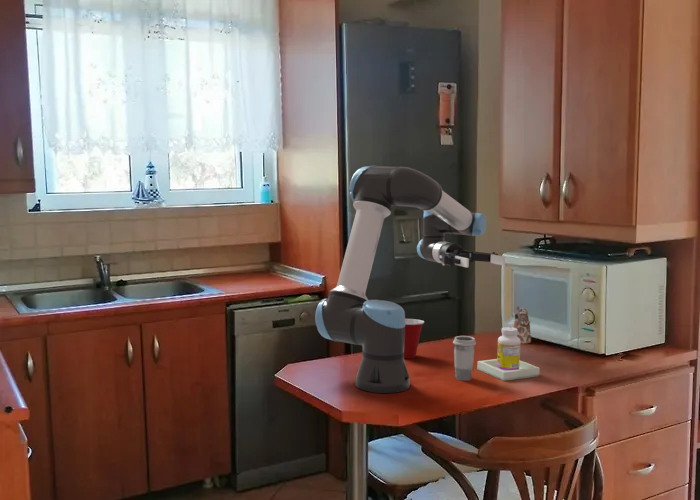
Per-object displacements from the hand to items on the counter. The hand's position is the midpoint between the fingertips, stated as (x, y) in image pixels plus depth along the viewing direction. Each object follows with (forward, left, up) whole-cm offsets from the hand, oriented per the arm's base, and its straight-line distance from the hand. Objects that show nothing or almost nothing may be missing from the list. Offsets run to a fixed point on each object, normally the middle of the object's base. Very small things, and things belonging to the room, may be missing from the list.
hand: (486, 262), depth 232 cm
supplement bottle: (+1, -12, -32) cm, 34 cm away
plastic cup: (-18, +16, -32) cm, 40 cm away
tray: (+1, -12, -32) cm, 34 cm away
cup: (-15, -12, -32) cm, 37 cm away
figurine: (+30, +19, -32) cm, 48 cm away
